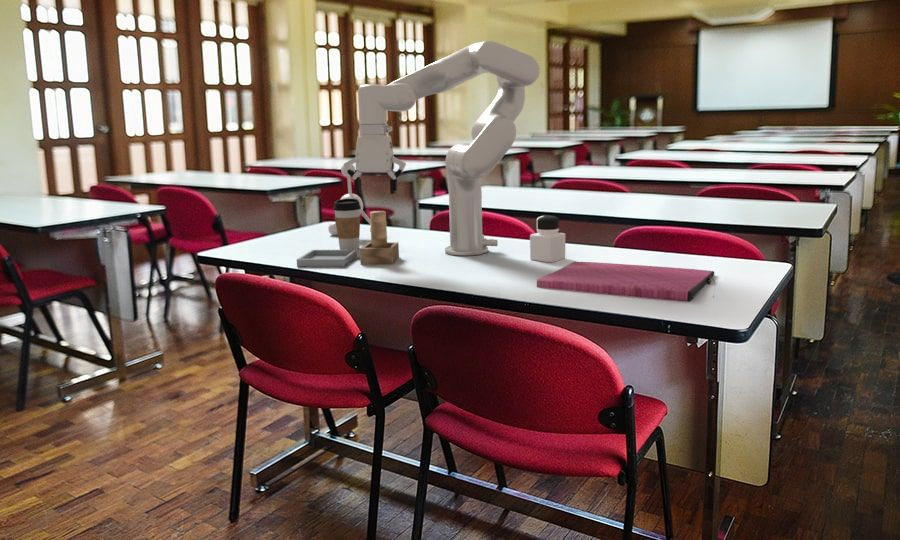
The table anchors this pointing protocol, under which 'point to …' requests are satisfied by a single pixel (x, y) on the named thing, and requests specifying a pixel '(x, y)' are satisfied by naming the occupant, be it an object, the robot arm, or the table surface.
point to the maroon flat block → (629, 280)
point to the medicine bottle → (547, 240)
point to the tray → (327, 258)
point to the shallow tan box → (379, 254)
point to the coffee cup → (348, 223)
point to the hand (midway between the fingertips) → (375, 193)
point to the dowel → (378, 229)
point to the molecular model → (332, 226)
